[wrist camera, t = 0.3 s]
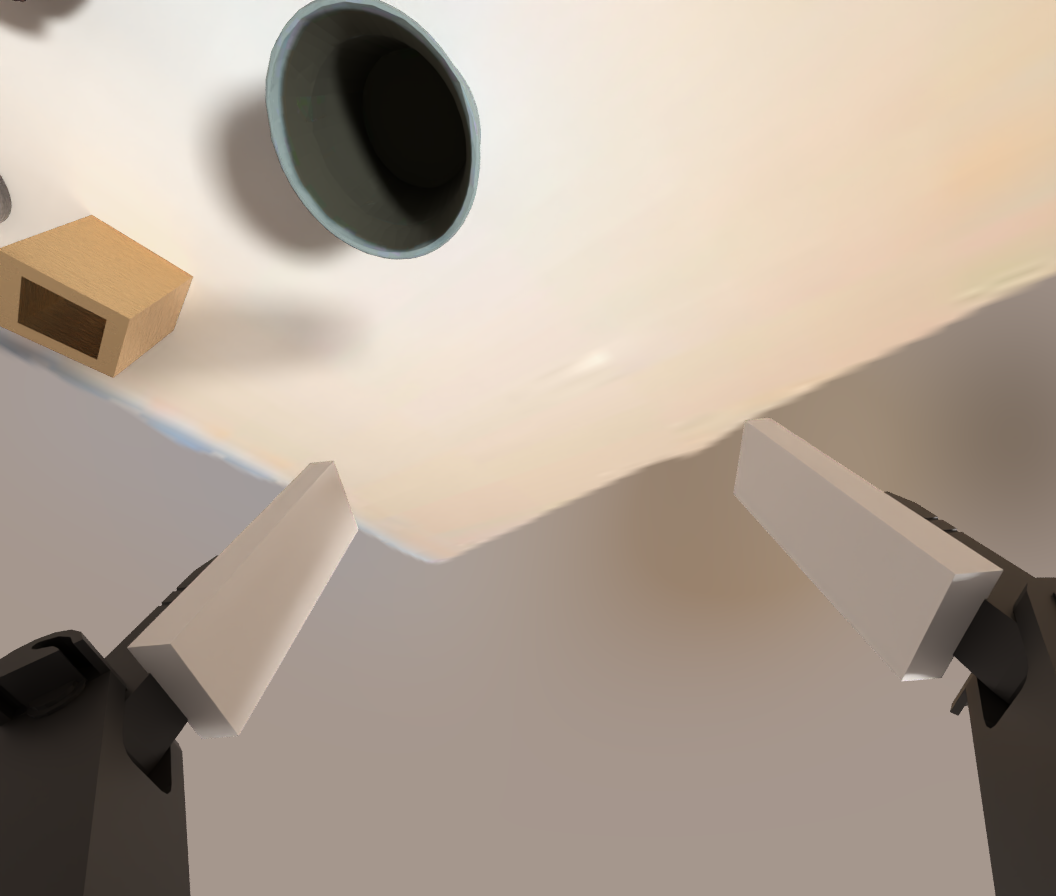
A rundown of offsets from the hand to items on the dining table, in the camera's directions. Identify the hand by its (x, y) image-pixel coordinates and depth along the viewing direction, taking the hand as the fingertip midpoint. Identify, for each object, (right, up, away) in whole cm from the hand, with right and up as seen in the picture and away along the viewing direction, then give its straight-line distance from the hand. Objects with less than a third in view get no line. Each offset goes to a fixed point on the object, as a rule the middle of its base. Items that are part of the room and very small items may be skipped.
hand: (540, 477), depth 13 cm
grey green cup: (-8, +24, +15) cm, 30 cm away
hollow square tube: (-35, +16, +22) cm, 44 cm away
